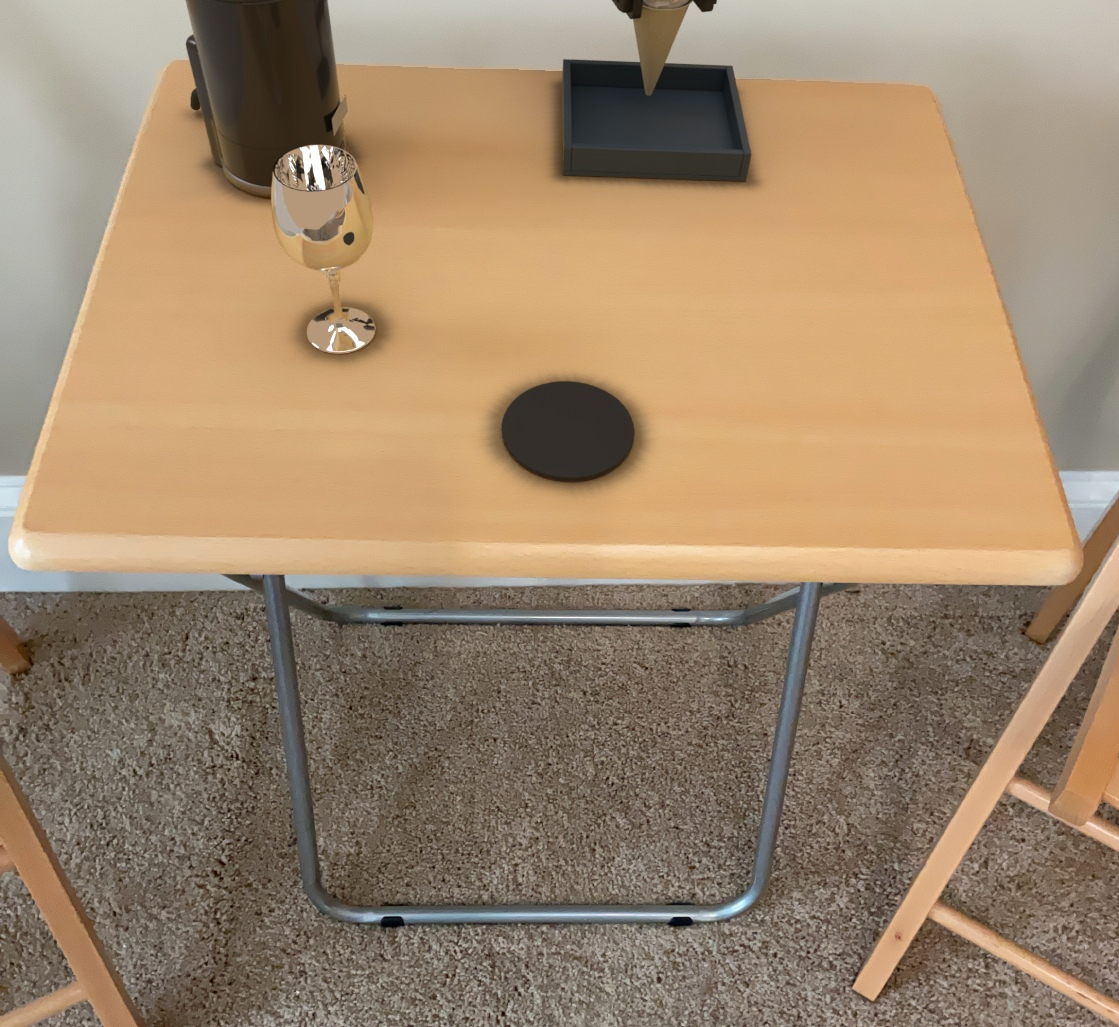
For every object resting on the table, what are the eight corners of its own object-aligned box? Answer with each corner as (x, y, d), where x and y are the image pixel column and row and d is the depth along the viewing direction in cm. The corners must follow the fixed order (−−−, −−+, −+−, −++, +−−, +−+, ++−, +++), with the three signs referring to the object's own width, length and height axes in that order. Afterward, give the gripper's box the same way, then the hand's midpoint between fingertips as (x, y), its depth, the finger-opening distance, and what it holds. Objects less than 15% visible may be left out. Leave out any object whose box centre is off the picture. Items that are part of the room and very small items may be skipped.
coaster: (476, 447, 62) (476, 442, 61) (544, 368, 66) (544, 364, 66) (594, 501, 59) (594, 497, 59) (656, 416, 64) (656, 412, 64)
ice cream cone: (675, 115, 82) (704, -88, 71) (612, 105, 83) (631, -98, 71) (683, 83, 85) (712, -117, 74) (623, 74, 86) (642, -126, 74)
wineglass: (313, 371, 65) (281, 208, 56) (284, 316, 68) (249, 152, 59) (399, 345, 67) (382, 182, 58) (367, 292, 70) (345, 130, 61)
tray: (562, 175, 80) (564, 147, 78) (561, 86, 88) (563, 58, 86) (745, 181, 80) (751, 154, 78) (727, 92, 88) (732, 65, 87)
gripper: (518, -138, 81) (585, -43, 71) (687, -149, 84) (774, -59, 74) (516, -39, 87) (578, 62, 77) (675, -52, 90) (754, 43, 80)
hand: (674, 2), depth 76 cm, fingers closed on ice cream cone, 5 cm apart
